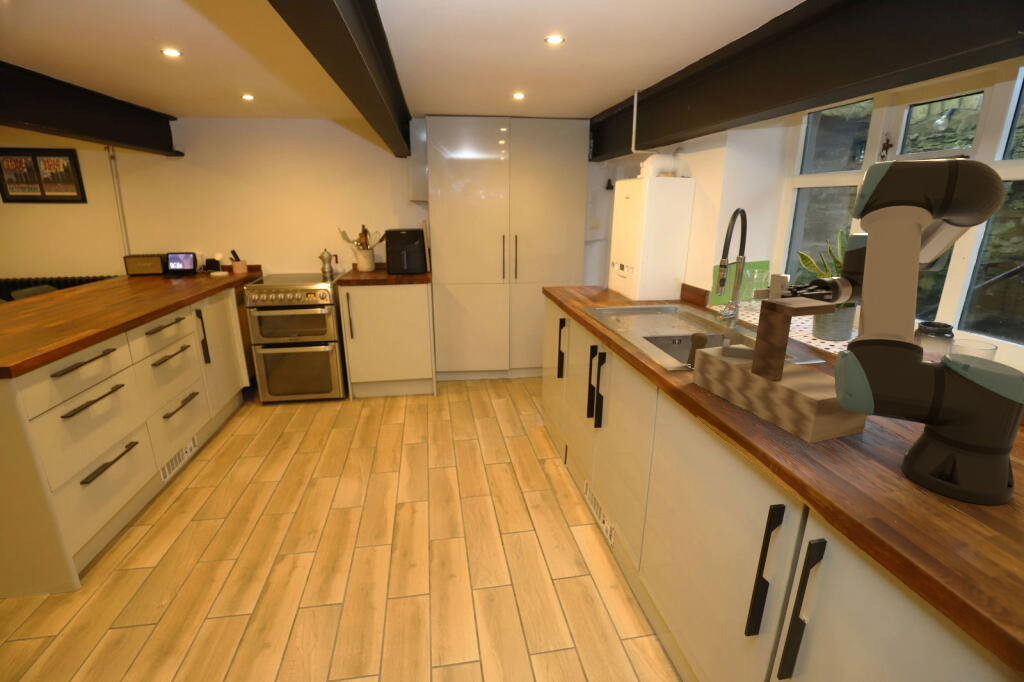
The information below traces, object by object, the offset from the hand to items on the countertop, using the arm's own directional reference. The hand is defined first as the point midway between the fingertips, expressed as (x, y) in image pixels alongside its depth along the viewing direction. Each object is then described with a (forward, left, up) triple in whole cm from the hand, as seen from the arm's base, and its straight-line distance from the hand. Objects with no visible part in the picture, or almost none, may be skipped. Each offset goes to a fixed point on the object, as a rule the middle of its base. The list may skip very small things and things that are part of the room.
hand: (762, 296), depth 126 cm
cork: (+15, +12, -26) cm, 32 cm away
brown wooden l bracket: (-18, -2, -16) cm, 24 cm away
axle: (+2, -5, -7) cm, 8 cm away
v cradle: (-3, +4, -16) cm, 17 cm away
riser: (-12, -1, -26) cm, 29 cm away
